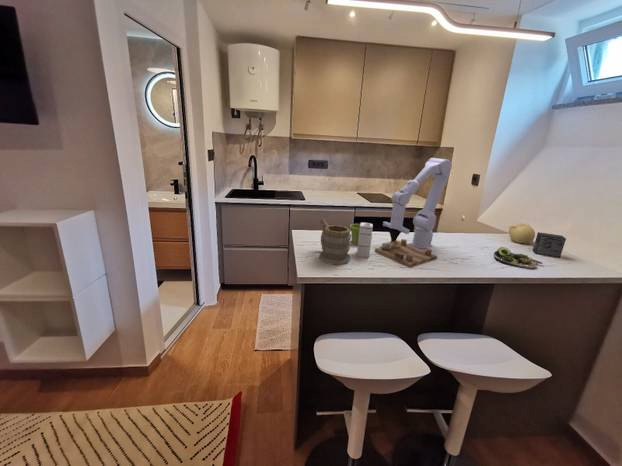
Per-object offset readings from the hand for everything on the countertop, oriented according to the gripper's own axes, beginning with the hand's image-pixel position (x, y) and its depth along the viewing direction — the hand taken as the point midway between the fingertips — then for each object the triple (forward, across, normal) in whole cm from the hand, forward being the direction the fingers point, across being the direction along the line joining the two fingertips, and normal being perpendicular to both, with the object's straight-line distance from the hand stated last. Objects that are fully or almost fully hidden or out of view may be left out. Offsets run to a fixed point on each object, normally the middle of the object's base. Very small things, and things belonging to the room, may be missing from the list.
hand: (393, 243), depth 142 cm
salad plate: (+3, +37, +42) cm, 56 cm away
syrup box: (+3, -1, -19) cm, 19 cm away
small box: (+3, +42, +69) cm, 81 cm away
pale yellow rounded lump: (+3, +27, +79) cm, 83 cm away
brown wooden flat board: (+3, +9, -1) cm, 9 cm away
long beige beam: (+1, +2, -3) cm, 4 cm away
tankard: (+3, -7, -34) cm, 35 cm away
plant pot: (+3, -14, -10) cm, 18 cm away
